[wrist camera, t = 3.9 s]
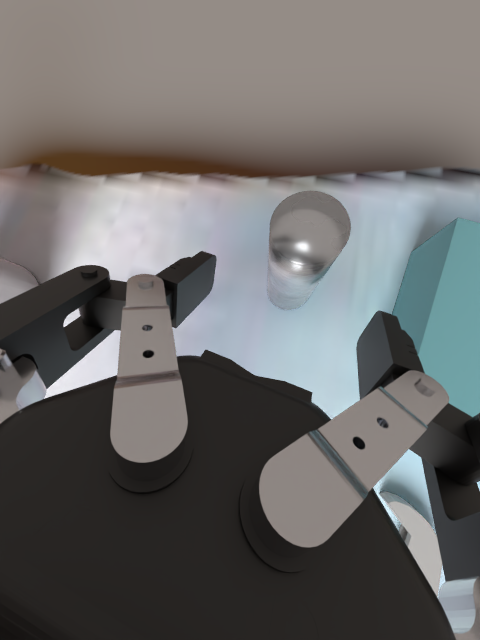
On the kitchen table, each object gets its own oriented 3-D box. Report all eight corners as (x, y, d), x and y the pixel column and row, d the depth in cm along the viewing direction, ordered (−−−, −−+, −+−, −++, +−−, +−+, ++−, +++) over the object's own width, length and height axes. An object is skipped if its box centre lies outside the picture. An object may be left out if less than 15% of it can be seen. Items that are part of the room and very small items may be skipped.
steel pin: (261, 301, 21) (258, 249, 11) (275, 264, 21) (285, 182, 12) (301, 316, 20) (336, 274, 11) (315, 277, 21) (360, 202, 11)
